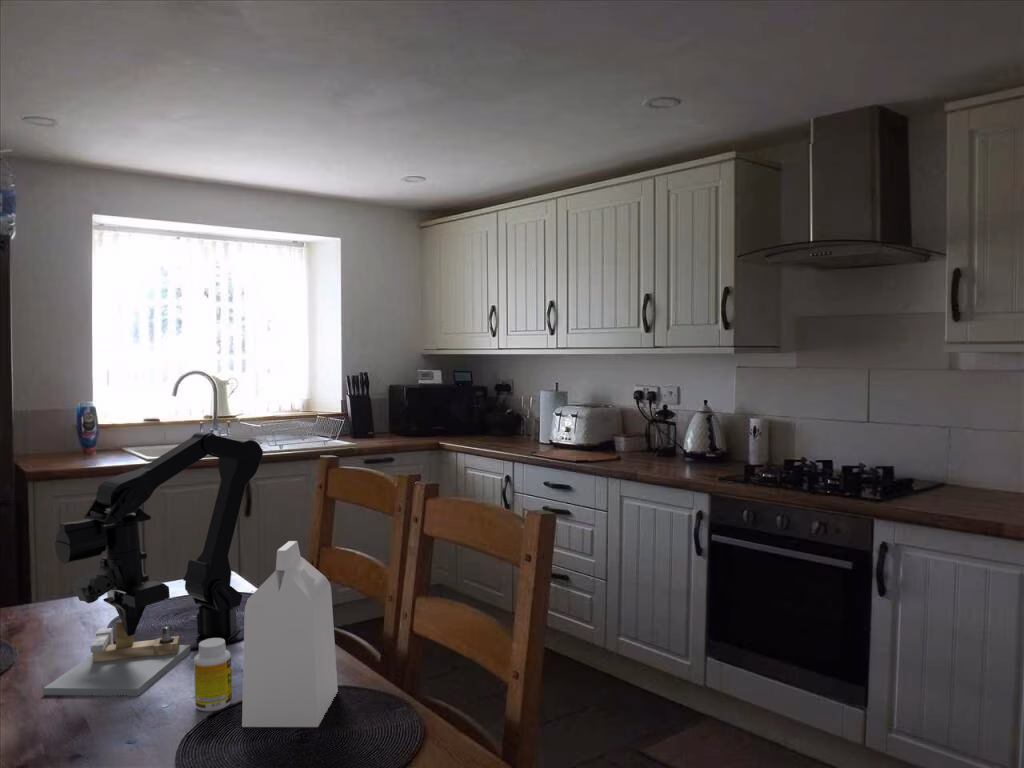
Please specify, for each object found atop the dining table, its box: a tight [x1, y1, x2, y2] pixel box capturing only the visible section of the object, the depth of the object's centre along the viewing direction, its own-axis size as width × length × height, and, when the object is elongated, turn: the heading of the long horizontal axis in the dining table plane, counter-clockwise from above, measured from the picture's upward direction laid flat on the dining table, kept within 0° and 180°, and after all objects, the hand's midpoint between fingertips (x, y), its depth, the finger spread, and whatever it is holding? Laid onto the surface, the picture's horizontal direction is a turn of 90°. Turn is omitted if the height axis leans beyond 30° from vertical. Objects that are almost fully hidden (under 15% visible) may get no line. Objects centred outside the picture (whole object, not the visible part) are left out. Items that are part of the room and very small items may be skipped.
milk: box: [241, 540, 339, 728], centre depth 125 cm, size 12×12×26 cm
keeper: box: [90, 627, 114, 654], centre depth 145 cm, size 2×8×4 cm, turn 17°
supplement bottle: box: [193, 638, 233, 712], centre depth 127 cm, size 6×6×10 cm
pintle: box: [160, 625, 172, 644], centre depth 147 cm, size 2×2×4 cm
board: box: [43, 644, 191, 697], centre depth 141 cm, size 16×19×1 cm
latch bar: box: [92, 619, 181, 662], centre depth 146 cm, size 14×4×6 cm, turn 108°
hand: (131, 635), depth 143 cm, fingers closed
